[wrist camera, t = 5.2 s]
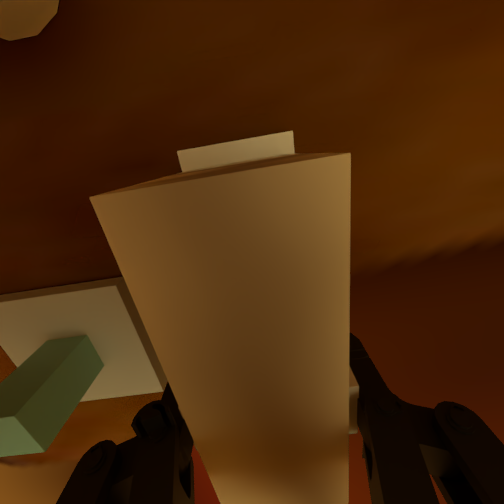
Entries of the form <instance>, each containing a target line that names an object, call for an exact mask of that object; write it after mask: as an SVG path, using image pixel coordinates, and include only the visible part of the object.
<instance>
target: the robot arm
mask: <svg viewBox="0 0 504 504" xmlns="http://www.w3.org/2000/svg"><path fill="white" fill-rule="evenodd" d="M131 426H132V428H133V429H134V431H135V433H136V435H137V436H136V437H134V438H132V439H129V440H127V441H125V442H123V443H121V444H119V445H116V444H115V443H114V442H113V441H111V440H105V441H102V442H99V443H97V444H96V445H94V446H93V447H91V448H90V449H89V450H88V451H87V452H86V453H85V454H84V455H83V457H82V458H81V459H80V461H79V462H78V464H77V466H76V468H75V469H74V471H73V473H72V475H71V477H70V479H69V481H68V482H67V484H66V486H65V488H64V490H63V492H62V493H61V495H60V497H59V499H58V501H57V503H56V504H194V466H193V460H192V457H191V453H192V447H193V443H194V440H193V438H192V436H191V433H190V431H189V429H188V426H187V424H186V422H185V419H184V417H183V415H182V413H181V410H180V408H179V406H178V403H177V401H176V399H175V396H174V394H173V392H172V389H171V387H170V385H169V382H168V384H167V385H166V388H165V391H164V393H163V396H162V399H161V400H157V401H152V402H150V403H149V404H147V405H145V406H144V407H143V408H142V409H140V410H139V412H138V413H137V414H136V416H135V417H134V419H133V422H132V424H131ZM358 427H359V430H360V432H361V435H362V437H363V455H362V457H363V458H365V462H366V469H367V475H368V482H369V488H370V494H371V500H372V504H439V501H438V498H437V495H436V492H435V489H434V487H433V484H432V481H431V478H430V475H429V474H431V475H432V477H433V479H434V481H435V482H436V484H437V486H438V488H439V490H440V491H441V493H442V495H443V497H444V499H445V500H446V502H447V504H504V445H503V443H502V442H501V441H500V440H499V439H498V438H497V437H496V435H495V434H494V433H493V432H492V431H491V430H490V428H488V426H487V425H486V424H485V423H484V422H483V420H482V419H481V418H480V417H479V416H478V415H476V414H475V413H474V412H473V411H472V410H470V409H468V408H467V407H465V406H463V405H460V404H458V403H454V402H447V401H444V402H441V403H438V404H437V406H436V407H435V409H431V408H427V407H421V406H417V405H412V404H409V403H407V402H405V401H402V400H401V399H399V398H398V397H397V396H396V395H395V394H393V393H392V392H391V391H390V390H389V389H388V388H387V386H386V384H385V382H384V381H383V379H382V377H381V376H380V374H379V372H378V370H377V369H376V367H375V365H374V364H373V362H372V360H371V359H370V358H369V356H368V354H367V352H366V351H365V349H364V347H363V345H362V343H361V342H360V340H359V339H358V338H357V337H355V336H354V335H353V334H352V333H349V434H354V433H357V432H358ZM194 445H195V443H194ZM195 448H196V450H197V447H196V445H195Z"/></svg>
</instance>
